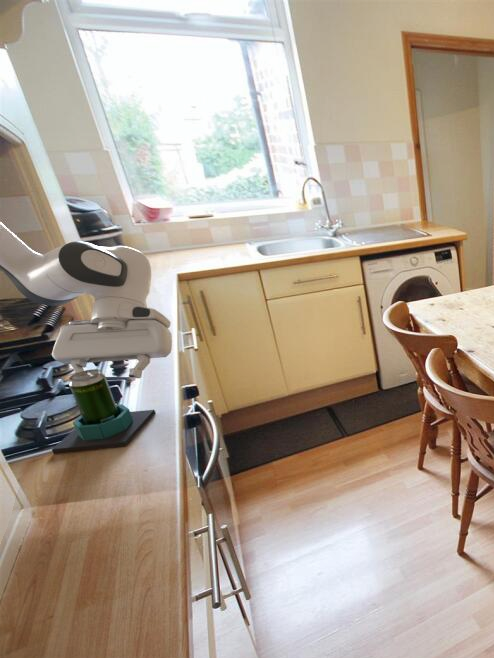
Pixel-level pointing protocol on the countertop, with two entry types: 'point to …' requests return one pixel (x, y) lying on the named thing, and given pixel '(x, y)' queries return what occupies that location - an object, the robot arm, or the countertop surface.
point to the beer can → (93, 396)
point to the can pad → (107, 442)
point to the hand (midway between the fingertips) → (108, 379)
